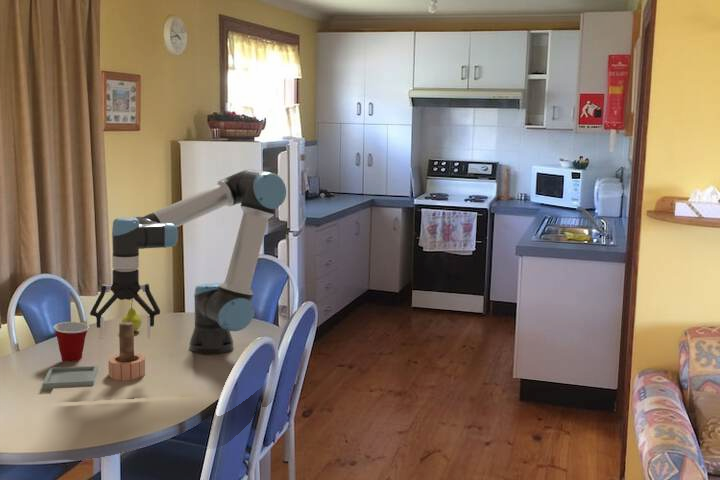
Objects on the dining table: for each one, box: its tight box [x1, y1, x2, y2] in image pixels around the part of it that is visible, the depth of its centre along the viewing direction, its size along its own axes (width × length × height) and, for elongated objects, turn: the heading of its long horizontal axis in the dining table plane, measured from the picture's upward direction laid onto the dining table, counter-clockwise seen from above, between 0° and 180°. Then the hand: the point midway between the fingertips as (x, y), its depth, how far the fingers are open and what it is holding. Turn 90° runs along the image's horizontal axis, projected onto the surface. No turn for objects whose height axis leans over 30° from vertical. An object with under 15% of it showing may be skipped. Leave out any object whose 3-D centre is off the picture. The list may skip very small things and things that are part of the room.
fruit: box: [121, 298, 142, 332], centre depth 272 cm, size 7×7×12 cm
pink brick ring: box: [107, 352, 146, 381], centre depth 225 cm, size 11×11×6 cm
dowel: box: [118, 322, 135, 362], centre depth 224 cm, size 4×4×16 cm
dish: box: [42, 364, 99, 392], centre depth 220 cm, size 14×14×2 cm
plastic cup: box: [53, 321, 90, 364], centre depth 237 cm, size 11×11×12 cm
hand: (125, 337), depth 223 cm, fingers open, 13 cm apart
